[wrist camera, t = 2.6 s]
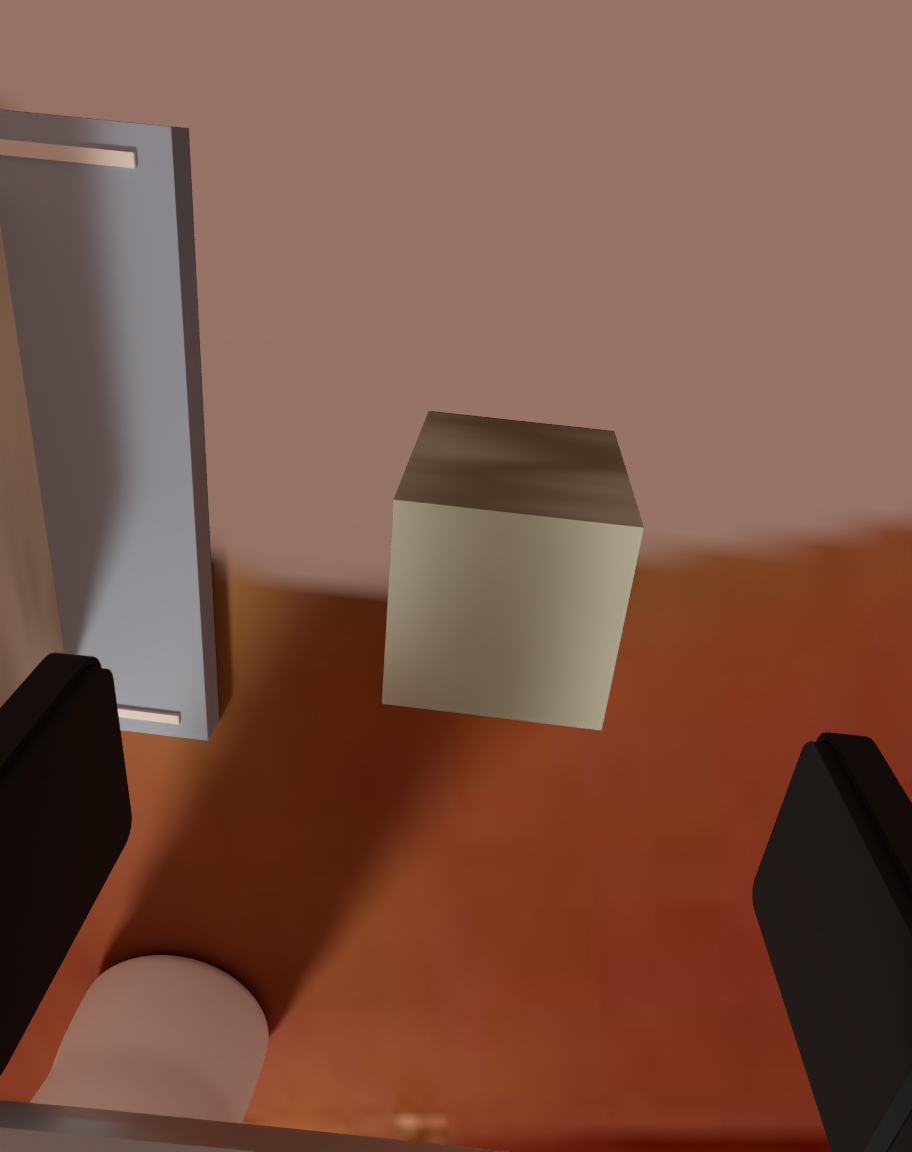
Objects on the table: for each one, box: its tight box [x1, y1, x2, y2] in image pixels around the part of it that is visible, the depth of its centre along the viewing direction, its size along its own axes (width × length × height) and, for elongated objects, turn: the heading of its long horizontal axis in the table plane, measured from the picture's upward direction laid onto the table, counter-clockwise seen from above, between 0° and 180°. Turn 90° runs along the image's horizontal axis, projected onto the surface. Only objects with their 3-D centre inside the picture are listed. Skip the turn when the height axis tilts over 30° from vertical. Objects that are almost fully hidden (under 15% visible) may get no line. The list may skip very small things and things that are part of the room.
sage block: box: [382, 411, 644, 730], centre depth 19 cm, size 5×5×6 cm
